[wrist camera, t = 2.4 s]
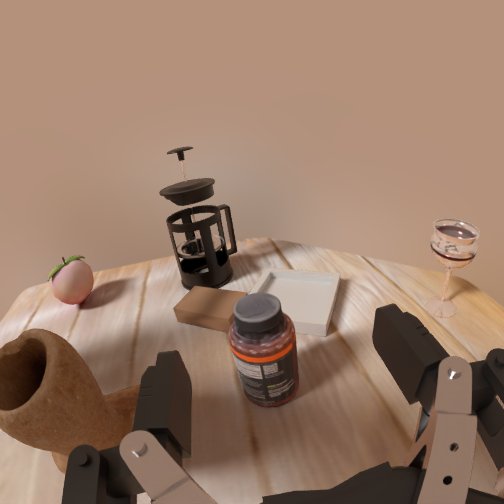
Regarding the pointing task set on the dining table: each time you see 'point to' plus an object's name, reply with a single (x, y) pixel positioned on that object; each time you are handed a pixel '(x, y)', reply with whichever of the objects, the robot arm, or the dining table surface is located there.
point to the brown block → (208, 308)
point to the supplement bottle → (264, 349)
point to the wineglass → (451, 256)
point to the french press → (206, 245)
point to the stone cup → (58, 398)
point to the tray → (303, 296)
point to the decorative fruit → (71, 280)
